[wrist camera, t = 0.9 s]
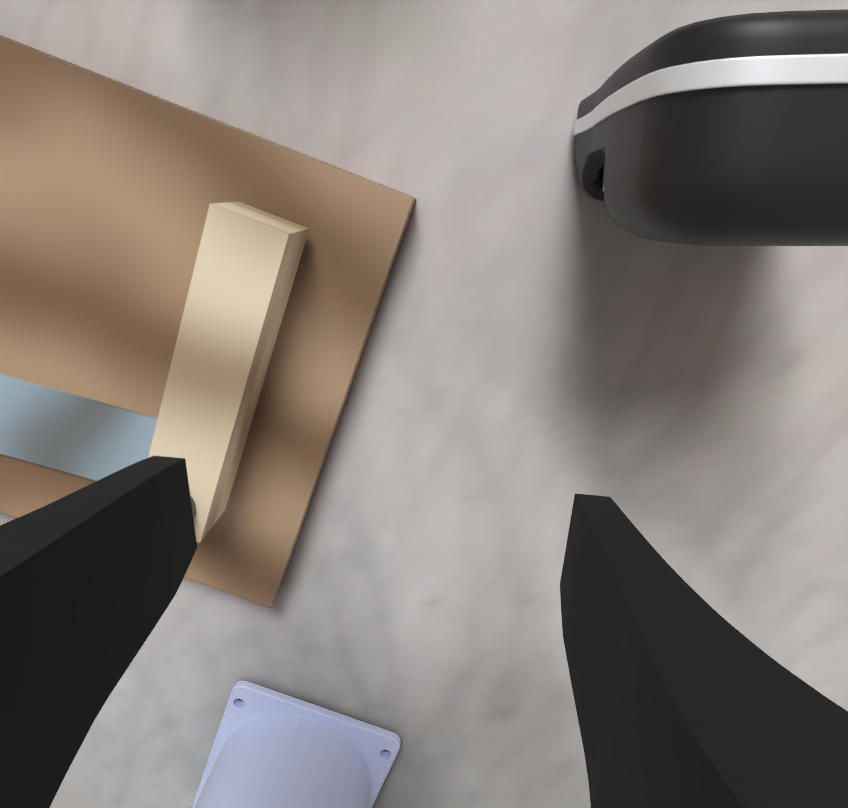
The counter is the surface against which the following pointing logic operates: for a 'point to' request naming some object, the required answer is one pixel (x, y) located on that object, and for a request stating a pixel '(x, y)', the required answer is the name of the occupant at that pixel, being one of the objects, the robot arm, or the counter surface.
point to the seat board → (166, 298)
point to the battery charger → (726, 133)
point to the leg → (225, 348)
